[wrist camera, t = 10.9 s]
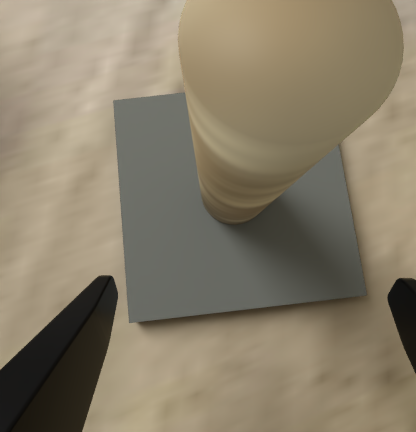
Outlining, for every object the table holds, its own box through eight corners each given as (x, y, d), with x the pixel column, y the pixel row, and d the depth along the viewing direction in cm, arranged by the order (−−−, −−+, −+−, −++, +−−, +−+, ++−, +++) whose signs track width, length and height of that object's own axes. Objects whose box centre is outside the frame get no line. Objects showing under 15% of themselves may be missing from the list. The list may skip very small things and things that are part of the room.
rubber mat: (358, 292, 17) (367, 295, 16) (133, 319, 17) (129, 323, 16) (319, 85, 19) (325, 76, 18) (118, 108, 19) (113, 100, 18)
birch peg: (279, 197, 17) (451, 52, 5) (228, 238, 17) (278, 191, 5) (238, 149, 18) (300, -96, 5) (188, 187, 17) (133, 22, 5)
